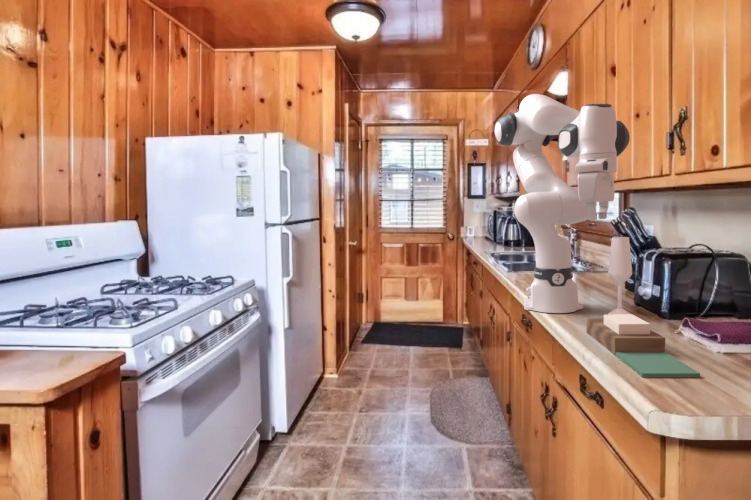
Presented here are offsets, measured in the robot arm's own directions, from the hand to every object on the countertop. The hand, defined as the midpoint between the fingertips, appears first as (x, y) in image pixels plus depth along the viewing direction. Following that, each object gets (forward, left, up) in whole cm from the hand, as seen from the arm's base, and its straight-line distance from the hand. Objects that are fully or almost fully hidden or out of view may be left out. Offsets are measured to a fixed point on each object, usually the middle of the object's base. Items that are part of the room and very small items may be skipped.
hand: (597, 219), depth 127 cm
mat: (+25, +3, -31) cm, 40 cm away
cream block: (+10, +3, -27) cm, 29 cm away
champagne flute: (-23, +14, -31) cm, 41 cm away
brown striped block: (+8, +3, -31) cm, 32 cm away
